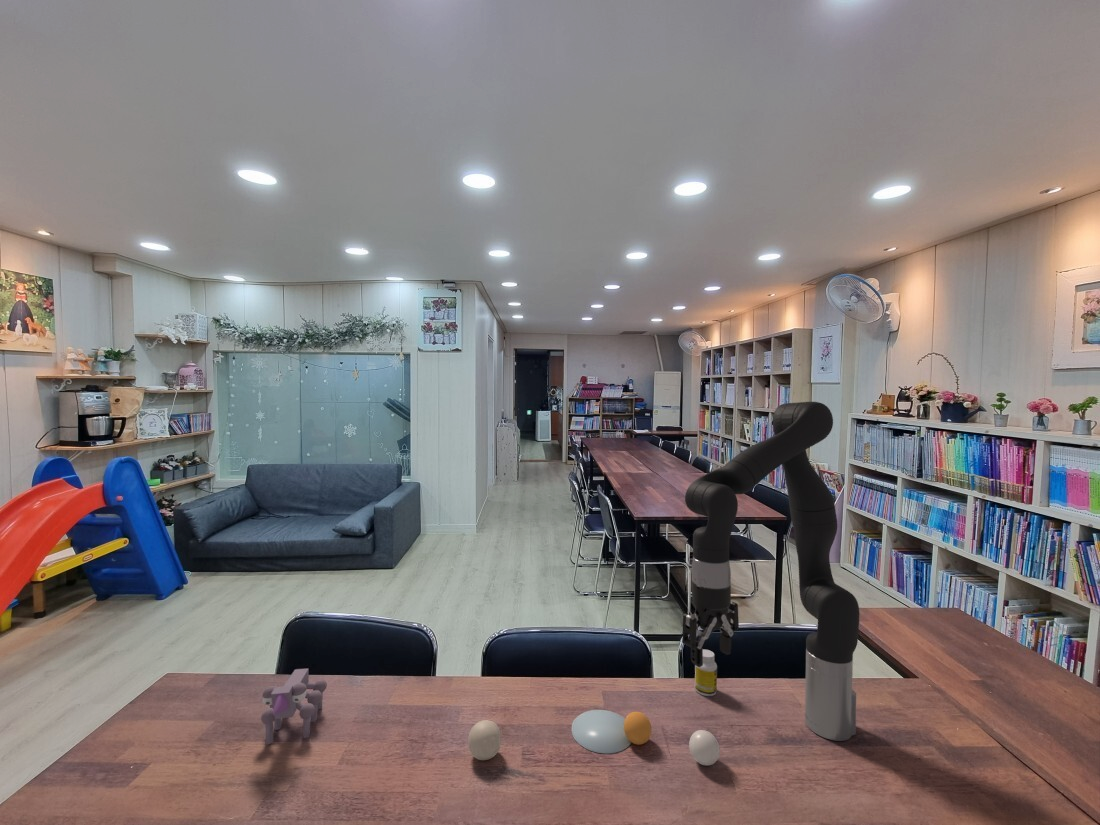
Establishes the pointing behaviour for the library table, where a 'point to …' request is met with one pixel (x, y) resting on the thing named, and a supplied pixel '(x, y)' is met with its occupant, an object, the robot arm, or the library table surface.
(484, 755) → the beige egg
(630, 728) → the object ball
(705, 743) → the cue ball
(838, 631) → the robot arm
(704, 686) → the supplement bottle
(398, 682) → the library table surface
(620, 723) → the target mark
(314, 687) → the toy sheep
